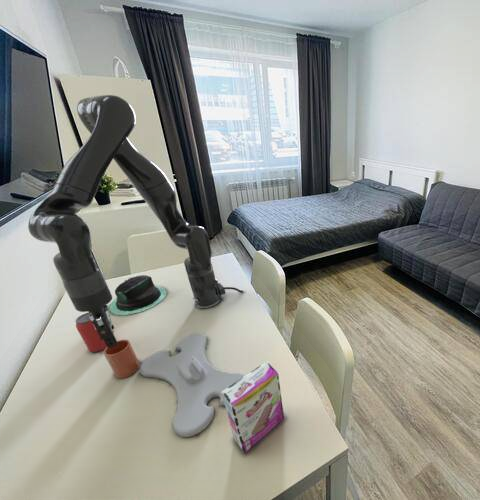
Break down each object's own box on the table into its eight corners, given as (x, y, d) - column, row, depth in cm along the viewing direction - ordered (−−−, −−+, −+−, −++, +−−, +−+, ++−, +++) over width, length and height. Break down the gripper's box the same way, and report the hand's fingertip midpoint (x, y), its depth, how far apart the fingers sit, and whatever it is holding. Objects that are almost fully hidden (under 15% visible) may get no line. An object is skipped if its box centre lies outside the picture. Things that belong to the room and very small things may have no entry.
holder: (183, 446, 61) (177, 433, 59) (137, 366, 81) (131, 354, 79) (255, 389, 74) (252, 376, 72) (199, 332, 94) (196, 321, 92)
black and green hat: (147, 313, 103) (94, 317, 103) (175, 306, 122) (130, 309, 121) (146, 274, 104) (93, 278, 104) (174, 273, 123) (129, 276, 122)
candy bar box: (245, 456, 59) (231, 407, 52) (233, 439, 62) (219, 391, 55) (286, 418, 66) (278, 371, 59) (274, 405, 69) (266, 359, 62)
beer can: (100, 354, 86) (84, 325, 81) (83, 351, 88) (67, 322, 82) (118, 339, 92) (105, 311, 87) (103, 337, 93) (88, 309, 88)
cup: (137, 358, 85) (127, 336, 81) (141, 370, 80) (131, 347, 77) (114, 369, 81) (102, 346, 77) (116, 382, 77) (104, 359, 73)
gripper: (109, 294, 66) (131, 344, 73) (104, 273, 75) (124, 319, 82) (68, 307, 61) (96, 359, 68) (68, 283, 71) (92, 331, 78)
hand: (111, 337), depth 75 cm, fingers open, 8 cm apart
